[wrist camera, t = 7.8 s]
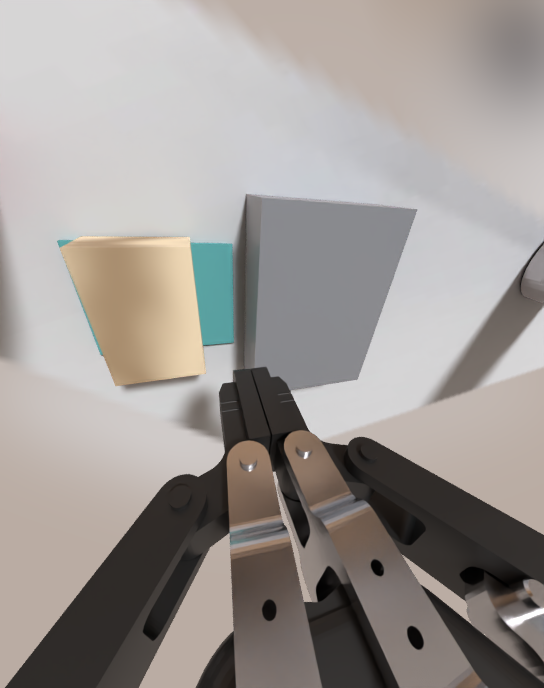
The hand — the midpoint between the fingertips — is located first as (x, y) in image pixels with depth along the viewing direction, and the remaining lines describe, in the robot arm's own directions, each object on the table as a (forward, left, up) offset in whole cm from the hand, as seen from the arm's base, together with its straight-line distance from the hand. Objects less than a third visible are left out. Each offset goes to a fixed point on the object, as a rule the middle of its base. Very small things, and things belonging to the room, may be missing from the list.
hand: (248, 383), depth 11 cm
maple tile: (+5, 0, -8) cm, 9 cm away
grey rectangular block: (-7, 0, -10) cm, 12 cm away
